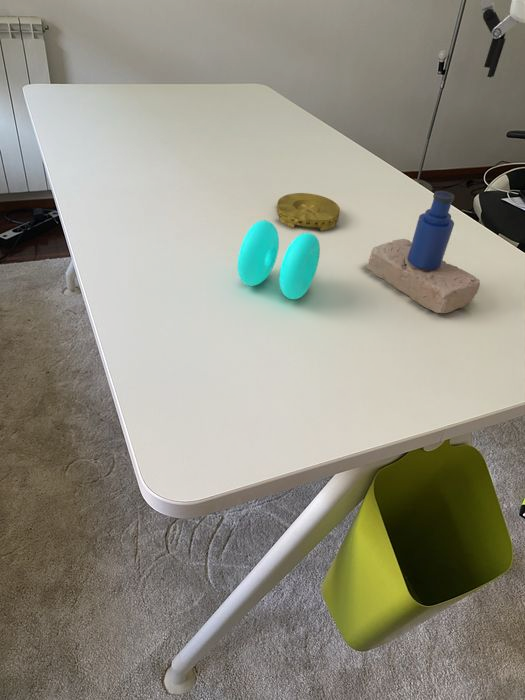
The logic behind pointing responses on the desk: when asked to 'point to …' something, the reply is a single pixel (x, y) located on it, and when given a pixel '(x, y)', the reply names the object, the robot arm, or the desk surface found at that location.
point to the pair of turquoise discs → (263, 252)
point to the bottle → (432, 233)
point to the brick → (423, 278)
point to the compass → (308, 211)
